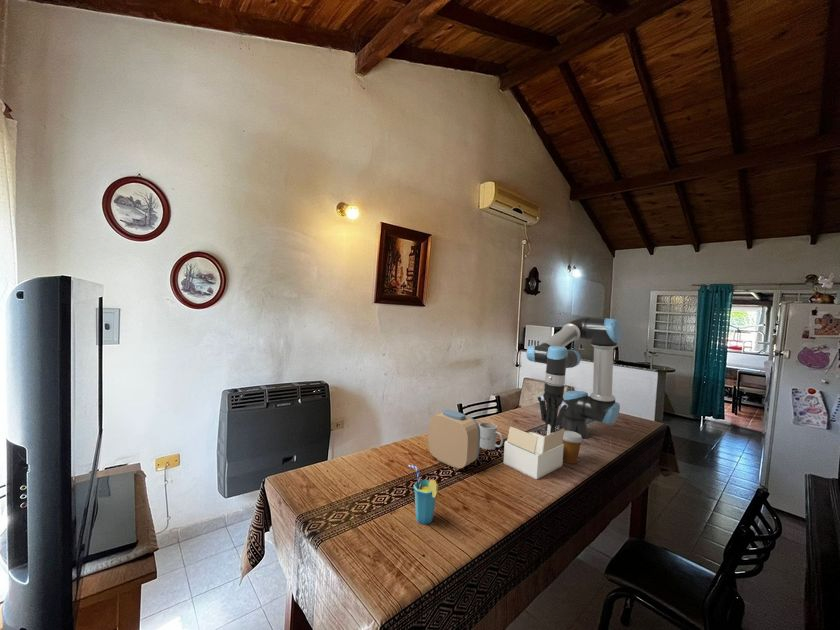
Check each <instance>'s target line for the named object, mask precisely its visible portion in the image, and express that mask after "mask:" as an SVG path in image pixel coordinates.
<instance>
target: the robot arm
mask: <svg viewBox="0 0 840 630" xmlns="http://www.w3.org/2000/svg"><path fill="white" fill-rule="evenodd" d="M622 338H623V331H622V325H621V323H620V322H619V321H618V320H617V319H614V318H608V317H589V316H585V317H579V318H576V319H573V320H570V321H569V322H567V323H565V324H564V325H563V326H562V327H561V329H560V330H559V331H557V332H556V333H555V334H553V335H551V337H549V338H547V339H545V341H543V342H541V343H540V344H538V345H534V344H533V345H528V347H527V349H526V352H525V353H526V359H527V360H528V361H530V362H533V363H539V364H543V365H544V364H545V365H546V369H545V378H544V388H543V390H544V393H543V394H542V396H538V397H537V400H538V403H539V408H540V416H541V417H540V418H541V421H543V422H544V423H545V431H546V435H548V434H551V433H554V432H556V428H557V426H558V430H561V429H563V428H564V431H573V432H576V433H579V434H580V435H581V436H582V440H583V439H587V438H589V435H590V434H589V433H590V432H589V428H588V424H587V419H588V420H591V421H596V422H598V423H602V424H606V425H614V424H615V422H616V421H617V420H618V417H619V414H620V409H621V408H620V407H621V405H620V403H618V402H616V397H615V395H613V375H614V374H613V373H614V371H613V369H614V349H615V348H616V347H617V346H618V344H619V343H620V342H621V341H622ZM577 340H589V341H590V345H591V346H592V347H593V377H592V378H593V381H592V382H593V384H592V386H593V387H592V389H593V390H592V392H590V394H588V392H587V391H584V390H568V391H565V386H564V385H565V383H566V372H567V371H566V370H567V369H573V368H575V367H577V366H579V365H580V363H581V359H582V358H581V355H580V353H579V352H578V351H577V350H574V349H567V347H566V346H568V345H569V344H570V343H571V342H575V341H577ZM560 407H561V408H560ZM559 408H560V409H559Z"/></svg>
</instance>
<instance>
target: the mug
mask: <svg viewBox="0 0 840 630" xmlns="http://www.w3.org/2000/svg"><path fill="white" fill-rule="evenodd" d="M478 425H479V427H480V447H481V448H480V449H483V450H487V449H488V450H489V451H491V449H492V450H495V449H496V448H501V447H502V445H504V436H503V434H502V433H501V431H498V425H497V424H495V423H493V422H486V421H484V422H480V423H478ZM497 435H499V437H500V444H497Z"/></svg>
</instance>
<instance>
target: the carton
mask: <svg viewBox="0 0 840 630" xmlns="http://www.w3.org/2000/svg"><path fill="white" fill-rule="evenodd" d="M525 432H526V433H529V434H532V435H534V436H537V437H538V439H537V444H536V449H535V453H533V452H531V451H528V450H526V449H524V448H521V447H519V446H517V445H514V444H512V443H510V442H507V440H505V441H504V444H503V445H504V447H503V464H504V465H506V466H507V467H510V468H512V469H514V470H516V471H519V472H520V473H522V474H524V475H526V476H528V477H530V478H532V479H534V480H536V481H537V480H539V479H540V478H543V477H545V476H547V475H548V474H551V472H554V471H556V470H558V469H560V468H561V467H563V462H564V461H563V448H564V444H562V445H560V446H558V447H556V448H554V449H551V450H549V451H547V452H545V453H542V449H543V441H544V436H545V435H542V434H540V433H538V432H533V431H530V432H527V431H525Z"/></svg>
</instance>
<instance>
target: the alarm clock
mask: <svg viewBox="0 0 840 630" xmlns="http://www.w3.org/2000/svg"><path fill="white" fill-rule="evenodd" d="M429 419H430V420H429V422H428V436H427V437H428V440H427V444H428V445H427V446H428V450H429V452H430V454H431V455H432V456H433V457H434V458H435V459H436V461H437V462H440V463H442V464H444V465H446V466H448V467H450V466H451V467H450V468H452V467H453V468H452V469H454V468H455V470H456V471H459V469H460V470H461V469H463V468H464V467H467V466H469V465H470V464H471V463H474V462H475V461H476V460H477V459H478V458H479V455H480V449H481V448H480V427H479V423H478V422H477V420H476V419H474V418H473V417H471V416H468V415H466V414H464V413H462V412H459V411H456V410H451V409H445V410H443V411H442V412H441V413H437V414H435V415H433V416H431V418H429Z"/></svg>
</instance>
